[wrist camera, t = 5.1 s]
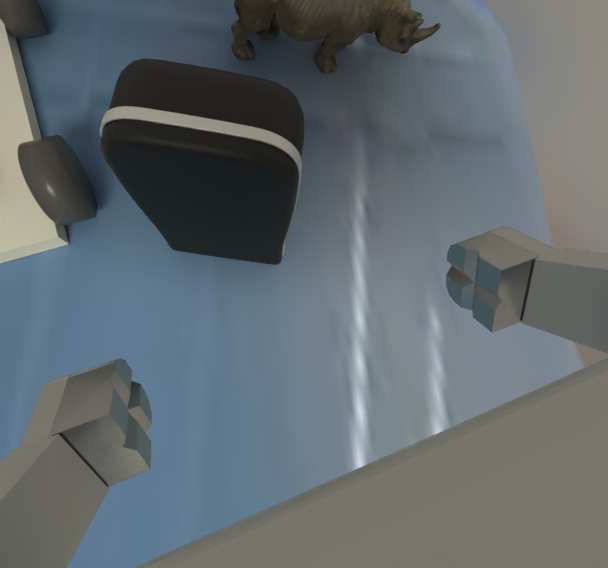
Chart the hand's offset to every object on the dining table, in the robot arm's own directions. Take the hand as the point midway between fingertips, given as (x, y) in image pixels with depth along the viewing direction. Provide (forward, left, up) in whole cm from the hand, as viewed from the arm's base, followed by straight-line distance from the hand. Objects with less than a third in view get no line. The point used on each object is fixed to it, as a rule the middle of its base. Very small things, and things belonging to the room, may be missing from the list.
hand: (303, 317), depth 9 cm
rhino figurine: (+10, +18, -13) cm, 25 cm away
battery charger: (0, +8, -13) cm, 15 cm away
